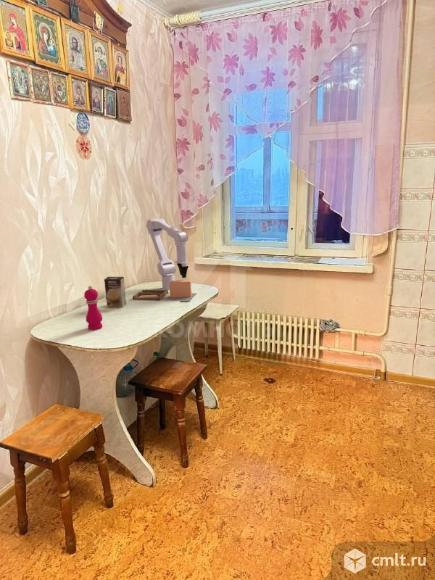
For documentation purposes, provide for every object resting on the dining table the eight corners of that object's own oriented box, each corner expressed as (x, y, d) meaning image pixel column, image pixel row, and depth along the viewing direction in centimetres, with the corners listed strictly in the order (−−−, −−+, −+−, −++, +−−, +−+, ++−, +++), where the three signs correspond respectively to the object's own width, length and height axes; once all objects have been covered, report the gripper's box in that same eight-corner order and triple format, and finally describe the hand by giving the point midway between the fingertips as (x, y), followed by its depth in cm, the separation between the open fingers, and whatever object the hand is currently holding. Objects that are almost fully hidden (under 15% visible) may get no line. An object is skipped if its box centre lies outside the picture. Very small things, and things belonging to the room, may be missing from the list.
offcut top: (140, 297, 228) (140, 295, 228) (158, 297, 227) (157, 295, 227) (139, 299, 224) (138, 297, 224) (156, 299, 223) (156, 297, 223)
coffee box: (106, 308, 211) (103, 279, 207) (110, 305, 217) (107, 276, 213) (123, 308, 210) (120, 279, 206) (127, 304, 216) (124, 276, 212)
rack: (143, 293, 238) (142, 289, 237) (168, 294, 234) (168, 290, 234) (133, 300, 224) (132, 296, 223) (159, 301, 221) (159, 297, 220)
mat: (174, 293, 235) (174, 292, 235) (196, 294, 232) (196, 293, 232) (164, 301, 220) (164, 300, 220) (189, 302, 217) (189, 301, 217)
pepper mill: (88, 331, 178) (82, 288, 173) (86, 326, 184) (80, 285, 179) (104, 328, 181) (99, 286, 175) (102, 324, 187) (97, 283, 182)
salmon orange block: (171, 295, 229) (170, 280, 226) (191, 295, 228) (190, 280, 226) (170, 297, 225) (168, 282, 223) (191, 297, 225) (190, 281, 222)
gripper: (173, 251, 234) (174, 274, 238) (176, 255, 221) (177, 279, 224) (185, 251, 236) (186, 273, 239) (188, 255, 222) (190, 278, 226)
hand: (183, 276), depth 232 cm, fingers open, 7 cm apart
